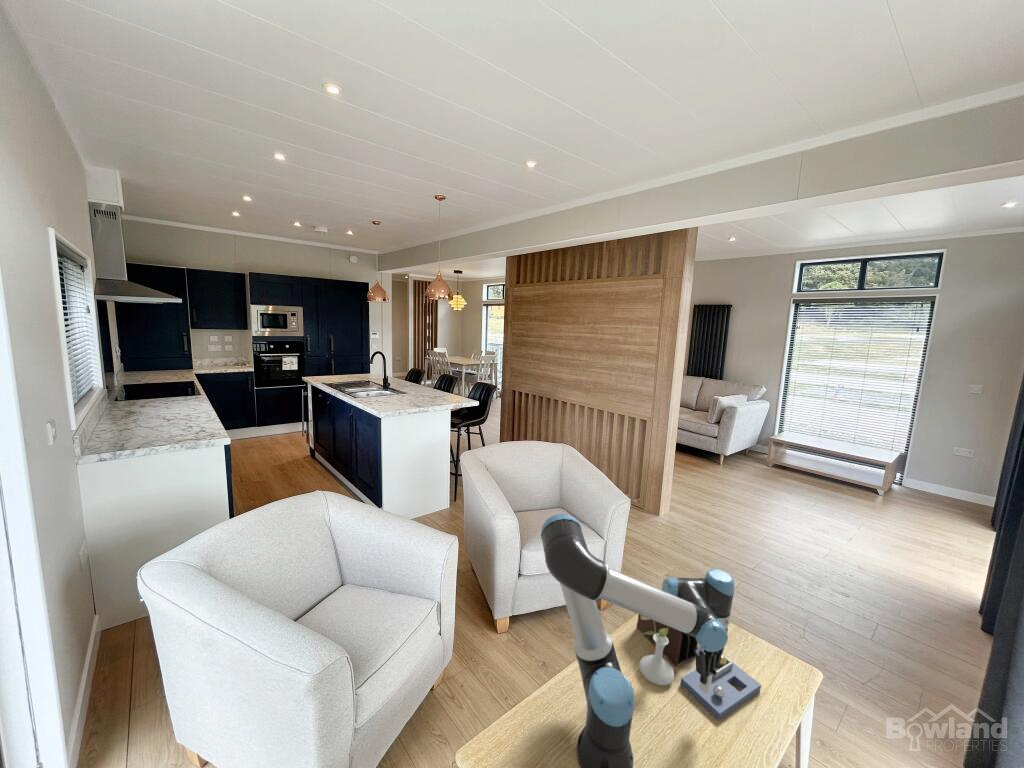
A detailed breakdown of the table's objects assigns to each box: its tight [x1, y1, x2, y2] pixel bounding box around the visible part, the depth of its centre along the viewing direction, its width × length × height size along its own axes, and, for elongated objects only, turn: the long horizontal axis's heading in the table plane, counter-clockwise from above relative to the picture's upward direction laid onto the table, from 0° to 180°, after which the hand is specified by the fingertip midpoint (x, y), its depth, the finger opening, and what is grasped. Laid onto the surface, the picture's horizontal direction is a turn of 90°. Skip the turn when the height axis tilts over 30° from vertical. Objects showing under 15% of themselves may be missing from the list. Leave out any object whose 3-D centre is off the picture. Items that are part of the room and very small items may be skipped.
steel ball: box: [713, 686, 724, 698], centre depth 133 cm, size 3×3×3 cm
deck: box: [679, 653, 762, 721], centre depth 139 cm, size 22×14×4 cm, turn 120°
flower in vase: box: [638, 616, 675, 686], centre depth 141 cm, size 13×11×25 cm
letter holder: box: [636, 614, 699, 668], centre depth 156 cm, size 10×20×14 cm, turn 27°
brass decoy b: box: [719, 654, 727, 667], centre depth 145 cm, size 4×4×4 cm
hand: (704, 690), depth 128 cm, fingers closed
